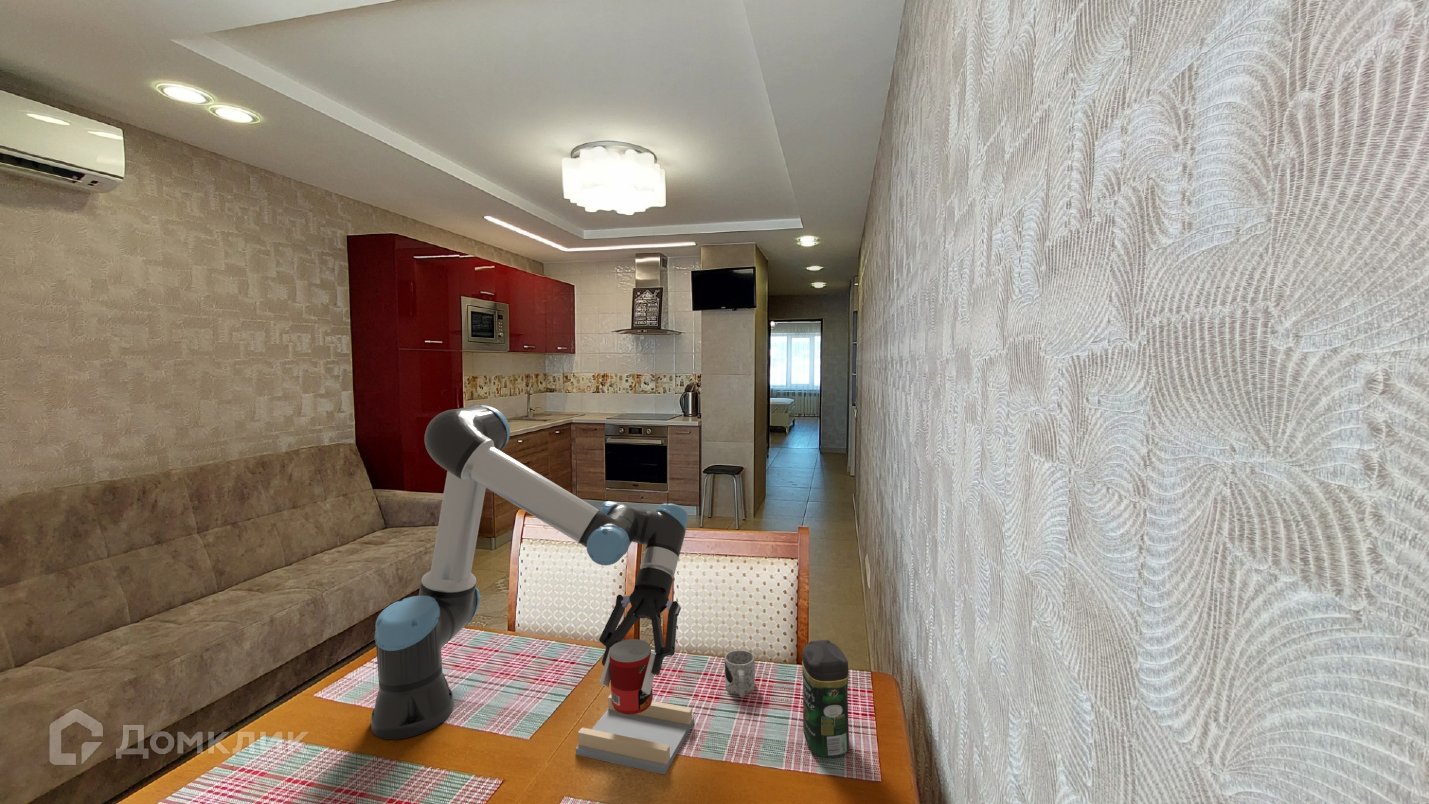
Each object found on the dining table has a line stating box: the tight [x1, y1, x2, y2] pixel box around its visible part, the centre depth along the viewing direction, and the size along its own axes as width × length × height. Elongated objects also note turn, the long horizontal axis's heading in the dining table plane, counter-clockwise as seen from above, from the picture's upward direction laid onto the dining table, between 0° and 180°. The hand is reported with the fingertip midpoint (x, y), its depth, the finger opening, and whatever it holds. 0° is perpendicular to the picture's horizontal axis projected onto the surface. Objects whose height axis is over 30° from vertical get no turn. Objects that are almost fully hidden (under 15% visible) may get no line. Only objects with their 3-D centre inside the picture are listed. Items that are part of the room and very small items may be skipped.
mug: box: [724, 649, 756, 698], centre depth 125 cm, size 10×7×7 cm
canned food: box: [609, 638, 654, 715], centre depth 109 cm, size 8×8×11 cm
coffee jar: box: [801, 639, 850, 758], centre depth 107 cm, size 10×8×19 cm
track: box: [575, 693, 695, 775], centre depth 110 cm, size 18×15×4 cm
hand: (624, 688), depth 106 cm, fingers closed on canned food, 8 cm apart
